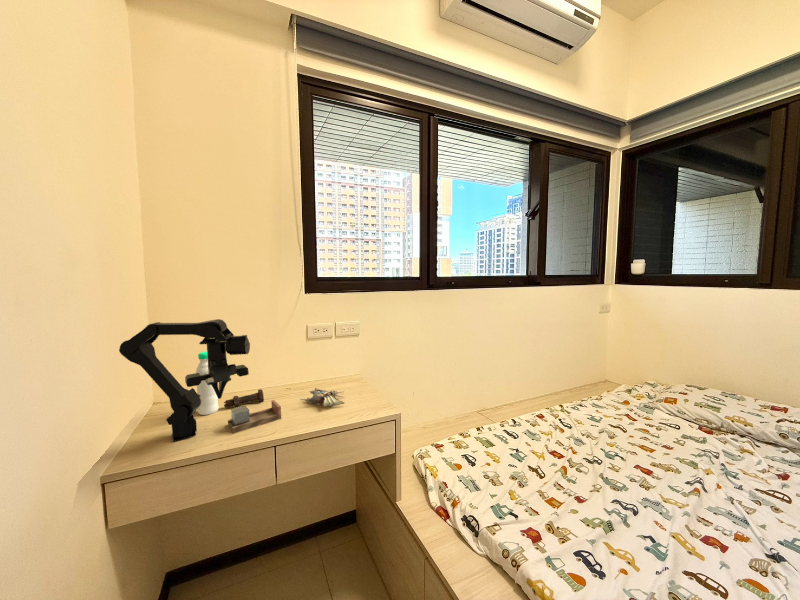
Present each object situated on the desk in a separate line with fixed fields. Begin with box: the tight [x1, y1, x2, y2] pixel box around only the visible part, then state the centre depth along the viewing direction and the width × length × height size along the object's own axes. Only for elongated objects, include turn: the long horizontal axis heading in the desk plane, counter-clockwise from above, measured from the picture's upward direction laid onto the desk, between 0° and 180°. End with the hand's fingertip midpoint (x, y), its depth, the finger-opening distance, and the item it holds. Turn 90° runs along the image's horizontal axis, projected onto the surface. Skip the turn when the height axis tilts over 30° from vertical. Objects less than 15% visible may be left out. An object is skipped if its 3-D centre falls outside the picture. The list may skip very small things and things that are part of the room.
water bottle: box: [195, 351, 219, 416], centre depth 125 cm, size 7×7×25 cm
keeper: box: [230, 405, 251, 426], centre depth 114 cm, size 5×5×5 cm
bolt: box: [223, 388, 265, 409], centre depth 133 cm, size 6×5×15 cm
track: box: [227, 399, 282, 434], centre depth 117 cm, size 17×8×5 cm, turn 131°
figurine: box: [300, 387, 345, 408], centre depth 133 cm, size 20×6×17 cm
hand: (219, 398), depth 109 cm, fingers closed
